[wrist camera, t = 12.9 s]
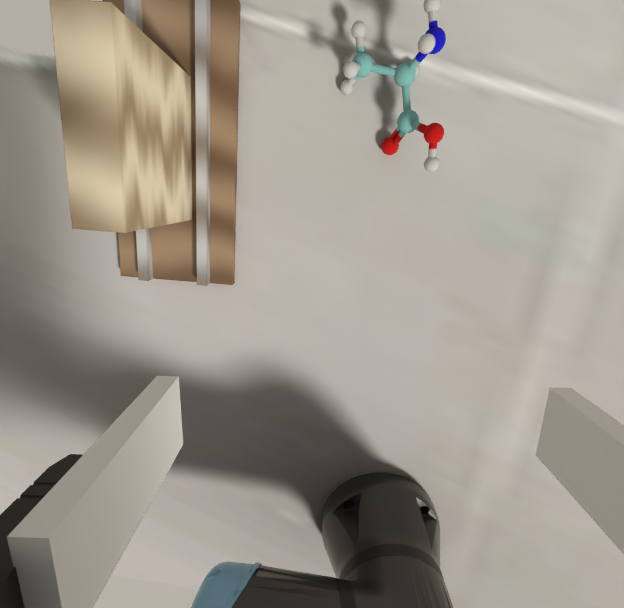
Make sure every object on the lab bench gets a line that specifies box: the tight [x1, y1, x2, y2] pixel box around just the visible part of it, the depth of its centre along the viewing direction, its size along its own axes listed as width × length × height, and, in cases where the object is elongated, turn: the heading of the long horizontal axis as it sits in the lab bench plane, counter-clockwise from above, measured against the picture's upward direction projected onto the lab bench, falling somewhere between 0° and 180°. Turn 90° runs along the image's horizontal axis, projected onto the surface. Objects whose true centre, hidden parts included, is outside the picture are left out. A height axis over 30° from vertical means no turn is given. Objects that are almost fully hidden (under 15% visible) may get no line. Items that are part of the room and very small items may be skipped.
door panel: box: [50, 0, 192, 233], centre depth 30 cm, size 13×4×14 cm, turn 175°
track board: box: [103, 0, 240, 286], centre depth 36 cm, size 26×12×2 cm, turn 175°
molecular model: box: [340, 0, 446, 171], centre depth 32 cm, size 12×10×10 cm
